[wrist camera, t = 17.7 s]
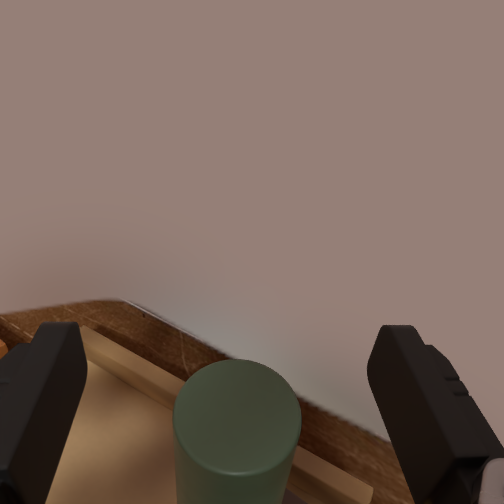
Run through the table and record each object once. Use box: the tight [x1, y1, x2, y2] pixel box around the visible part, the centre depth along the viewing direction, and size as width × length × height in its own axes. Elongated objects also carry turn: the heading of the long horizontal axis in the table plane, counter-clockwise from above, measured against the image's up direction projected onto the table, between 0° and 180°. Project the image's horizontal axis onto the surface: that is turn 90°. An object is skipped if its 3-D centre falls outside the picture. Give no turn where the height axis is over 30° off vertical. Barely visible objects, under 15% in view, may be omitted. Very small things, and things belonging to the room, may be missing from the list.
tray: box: [45, 325, 374, 504], centre depth 17 cm, size 18×11×3 cm, turn 61°
